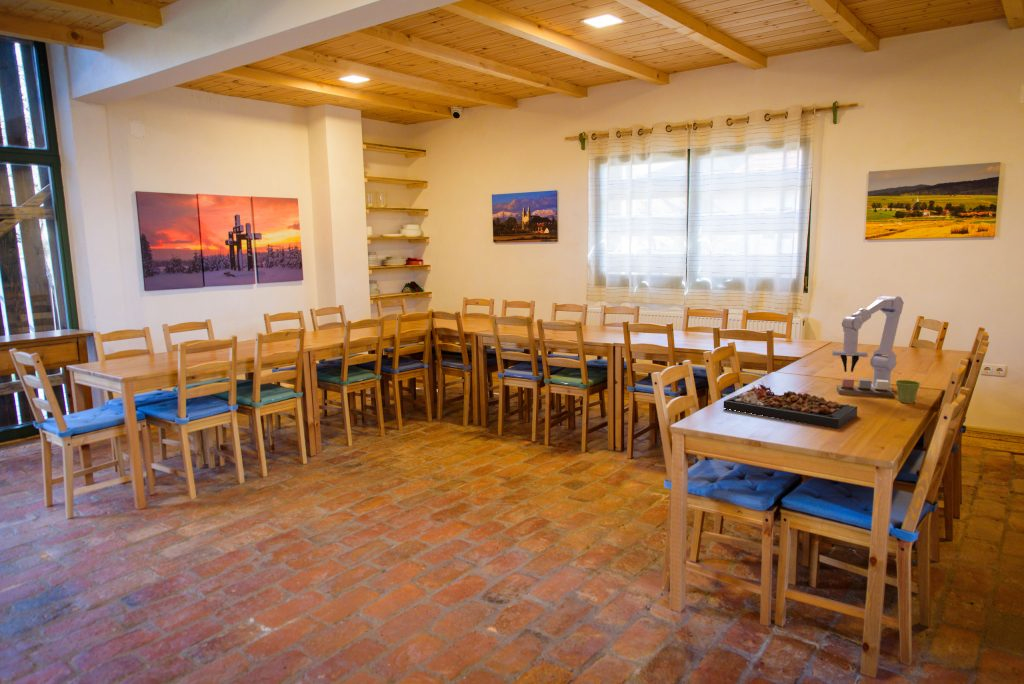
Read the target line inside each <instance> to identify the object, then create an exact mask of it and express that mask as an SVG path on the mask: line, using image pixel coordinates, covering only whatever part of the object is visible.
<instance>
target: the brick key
mask: <svg viewBox="0 0 1024 684" xmlns="http://www.w3.org/2000/svg"><path fill="white" fill-rule="evenodd" d="M841 385H842V387H854V386H855V379H854V377H842V378H841Z"/></svg>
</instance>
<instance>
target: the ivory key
mask: <svg viewBox="0 0 1024 684" xmlns="http://www.w3.org/2000/svg"><path fill="white" fill-rule="evenodd" d="M876 388H877V389H886V390H889V381H888V380H877V379H876Z"/></svg>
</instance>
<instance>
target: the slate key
mask: <svg viewBox="0 0 1024 684" xmlns="http://www.w3.org/2000/svg"><path fill="white" fill-rule="evenodd" d="M872 383H873V380H871V378H858V387H859V388H870V389H871V387H872V386H871V384H872Z"/></svg>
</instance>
